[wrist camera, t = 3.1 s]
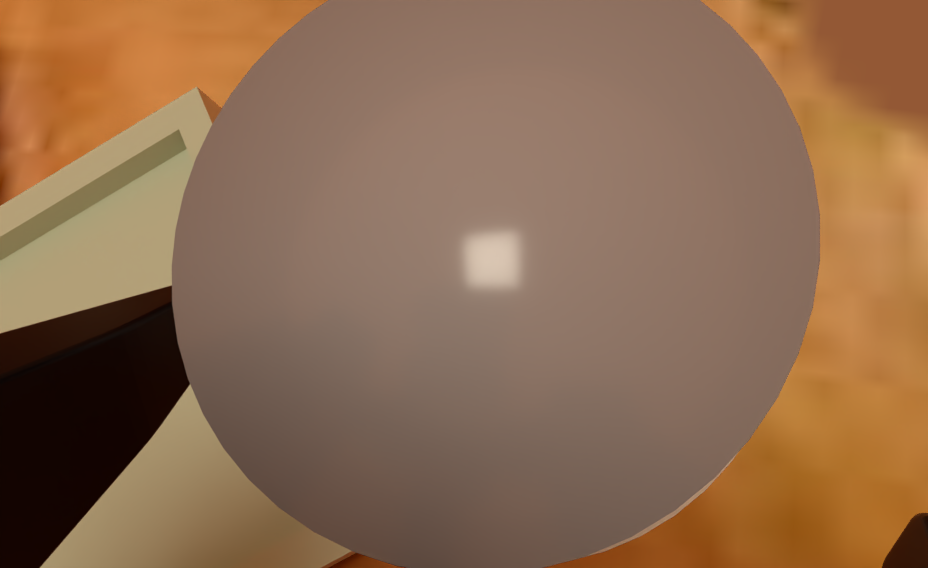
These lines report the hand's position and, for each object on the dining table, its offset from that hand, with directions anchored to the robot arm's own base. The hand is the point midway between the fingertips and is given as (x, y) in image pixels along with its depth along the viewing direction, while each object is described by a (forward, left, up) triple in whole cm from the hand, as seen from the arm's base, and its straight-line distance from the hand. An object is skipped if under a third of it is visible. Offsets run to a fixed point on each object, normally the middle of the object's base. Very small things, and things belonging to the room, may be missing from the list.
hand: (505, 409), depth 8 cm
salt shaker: (+1, -1, -9) cm, 9 cm away
